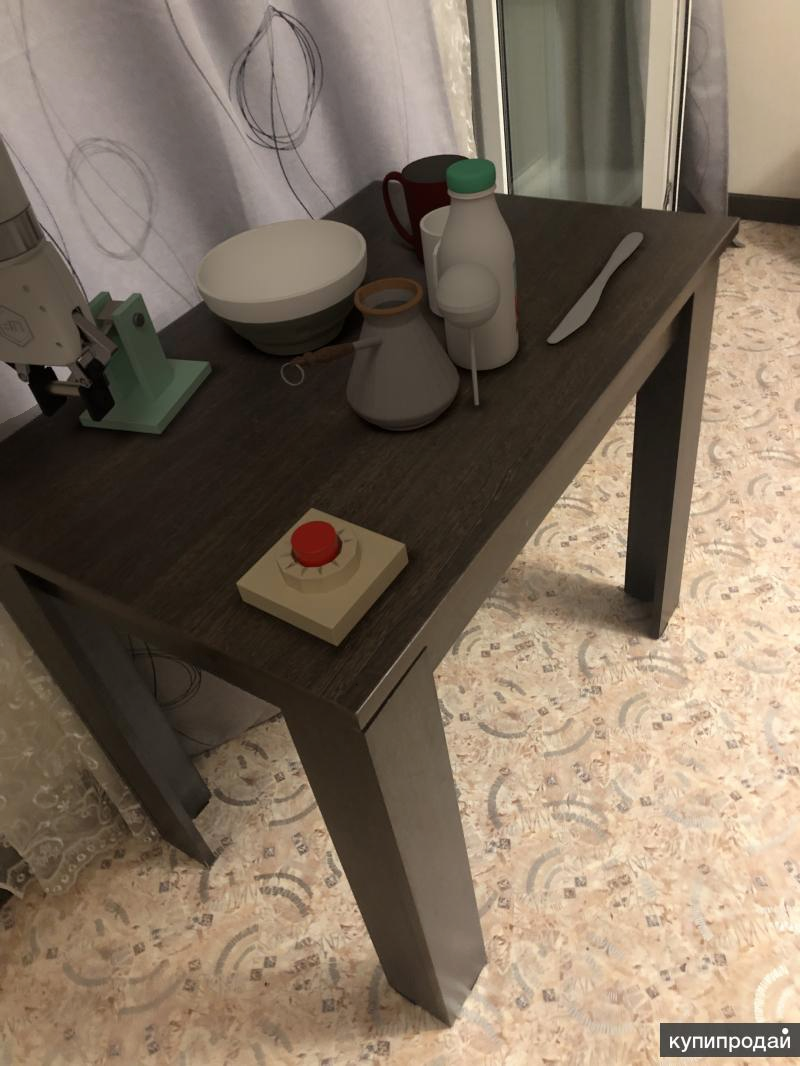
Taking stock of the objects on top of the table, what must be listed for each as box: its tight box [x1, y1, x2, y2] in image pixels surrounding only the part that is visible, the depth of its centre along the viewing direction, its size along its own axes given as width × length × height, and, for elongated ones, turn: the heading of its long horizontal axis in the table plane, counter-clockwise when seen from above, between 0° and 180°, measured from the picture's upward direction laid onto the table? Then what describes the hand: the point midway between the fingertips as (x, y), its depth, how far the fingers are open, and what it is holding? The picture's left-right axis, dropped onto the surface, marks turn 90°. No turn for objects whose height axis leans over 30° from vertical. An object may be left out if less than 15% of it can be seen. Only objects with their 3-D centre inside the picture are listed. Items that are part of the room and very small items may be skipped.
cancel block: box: [235, 507, 409, 647], centre depth 66 cm, size 10×10×4 cm
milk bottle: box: [439, 157, 519, 371], centre depth 82 cm, size 8×8×20 cm
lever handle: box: [45, 299, 125, 398], centre depth 82 cm, size 12×5×2 cm, turn 162°
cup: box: [420, 206, 450, 318], centre depth 93 cm, size 8×12×10 cm
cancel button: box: [291, 521, 339, 567], centre depth 65 cm, size 4×4×2 cm
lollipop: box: [435, 262, 501, 406], centre depth 77 cm, size 6×6×15 cm
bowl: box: [193, 218, 368, 356], centre depth 94 cm, size 20×20×10 cm
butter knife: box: [546, 231, 644, 344], centre depth 96 cm, size 1×27×3 cm
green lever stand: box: [78, 291, 213, 435], centre depth 88 cm, size 12×10×12 cm
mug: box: [381, 153, 470, 265], centre depth 104 cm, size 12×9×11 cm
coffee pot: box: [280, 277, 460, 432], centre depth 76 cm, size 21×12×15 cm, turn 151°
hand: (79, 409), depth 81 cm, fingers closed on lever handle, 5 cm apart
